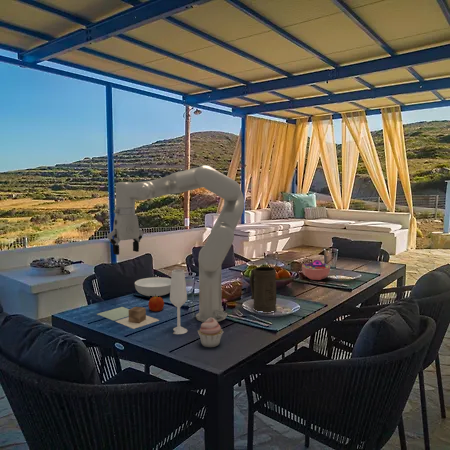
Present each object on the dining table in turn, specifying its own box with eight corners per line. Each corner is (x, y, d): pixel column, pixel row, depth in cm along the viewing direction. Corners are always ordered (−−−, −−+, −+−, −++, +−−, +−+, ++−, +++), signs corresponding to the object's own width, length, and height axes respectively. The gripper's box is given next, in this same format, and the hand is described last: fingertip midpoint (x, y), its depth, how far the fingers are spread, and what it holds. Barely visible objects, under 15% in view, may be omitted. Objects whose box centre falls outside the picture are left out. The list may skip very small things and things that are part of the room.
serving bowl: (180, 297, 198) (180, 284, 198) (138, 302, 191) (138, 288, 190) (170, 287, 218) (170, 275, 217) (132, 291, 210) (131, 278, 209)
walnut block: (145, 319, 164) (145, 307, 164) (139, 323, 160) (138, 311, 159) (135, 318, 166) (135, 306, 165) (128, 321, 161) (128, 310, 161)
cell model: (296, 280, 232) (296, 262, 230) (308, 274, 249) (308, 256, 247) (324, 284, 223) (324, 265, 222) (334, 277, 240) (335, 259, 239)
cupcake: (203, 351, 135) (203, 323, 134) (193, 341, 143) (193, 315, 142) (228, 346, 139) (228, 319, 138) (217, 337, 147) (217, 311, 146)
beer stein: (282, 309, 179) (280, 267, 177) (268, 315, 171) (266, 271, 170) (256, 305, 189) (254, 264, 188) (242, 310, 181) (240, 268, 180)
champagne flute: (166, 331, 154) (165, 270, 151) (180, 326, 158) (179, 268, 156) (177, 335, 149) (176, 273, 146) (191, 331, 153) (190, 270, 151)
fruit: (167, 310, 178) (167, 293, 177) (157, 315, 172) (157, 297, 171) (155, 308, 181) (155, 291, 180) (145, 312, 175) (144, 295, 175)
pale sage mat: (139, 314, 173) (139, 312, 173) (113, 322, 163) (113, 320, 163) (122, 308, 181) (122, 306, 181) (96, 315, 171) (96, 313, 171)
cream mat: (159, 321, 163) (159, 320, 163) (133, 330, 154) (133, 328, 154) (140, 315, 172) (140, 313, 172) (115, 323, 162) (114, 321, 162)
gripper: (112, 213, 153) (113, 256, 155) (148, 211, 166) (148, 251, 168) (102, 212, 158) (103, 254, 160) (137, 210, 171) (137, 249, 173)
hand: (126, 252), depth 164 cm, fingers open, 9 cm apart
